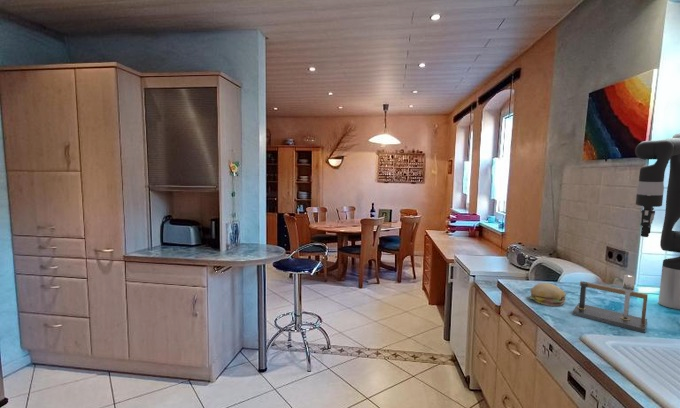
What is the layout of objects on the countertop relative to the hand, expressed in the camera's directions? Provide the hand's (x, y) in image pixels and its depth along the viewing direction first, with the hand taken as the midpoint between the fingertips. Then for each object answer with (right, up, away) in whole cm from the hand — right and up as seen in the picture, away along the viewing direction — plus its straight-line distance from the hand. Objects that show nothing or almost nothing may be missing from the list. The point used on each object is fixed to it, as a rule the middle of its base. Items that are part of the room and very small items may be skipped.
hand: (645, 234), depth 131 cm
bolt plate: (-11, -34, +4) cm, 36 cm away
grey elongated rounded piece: (-7, -32, 0) cm, 33 cm away
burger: (-25, -32, +21) cm, 46 cm away
